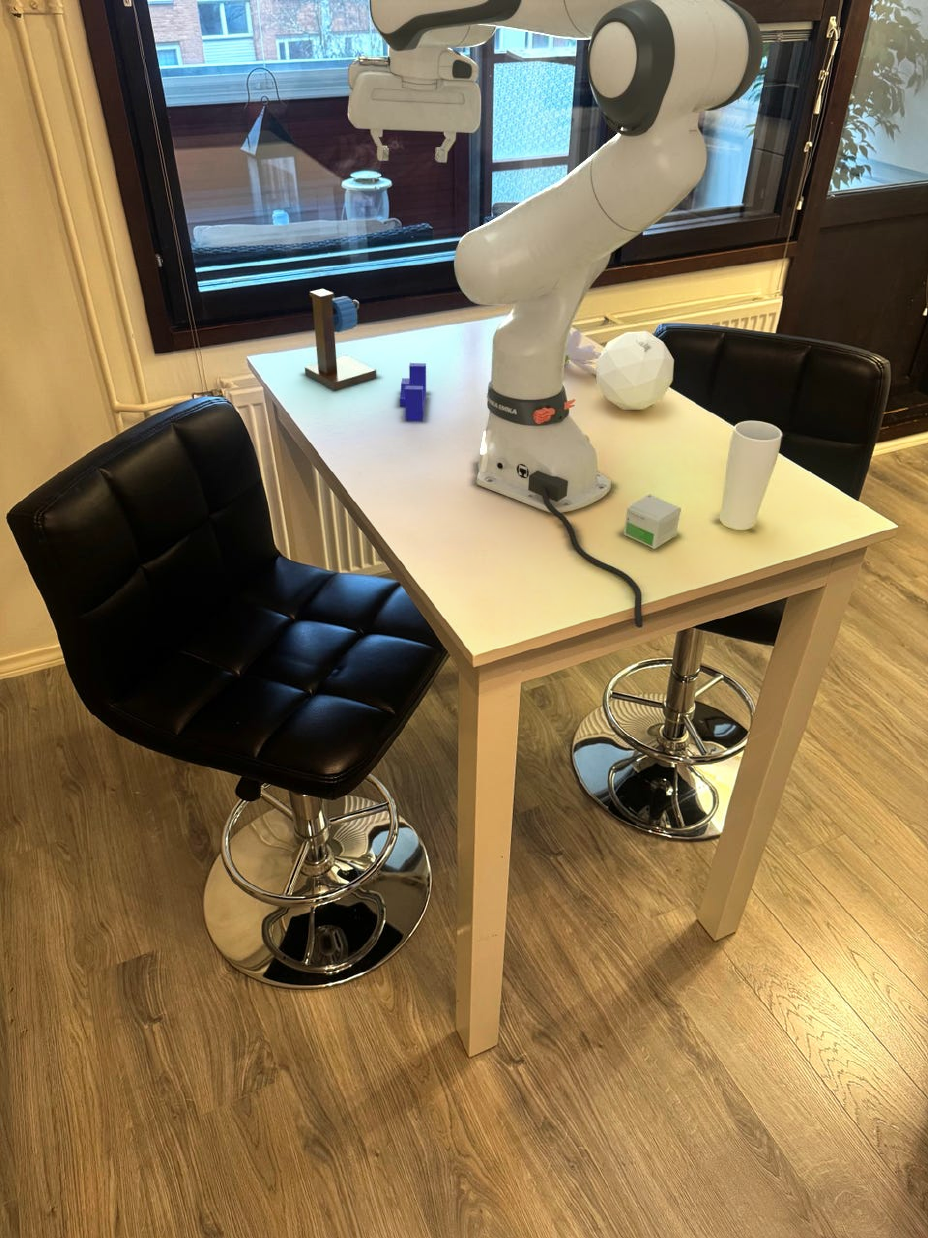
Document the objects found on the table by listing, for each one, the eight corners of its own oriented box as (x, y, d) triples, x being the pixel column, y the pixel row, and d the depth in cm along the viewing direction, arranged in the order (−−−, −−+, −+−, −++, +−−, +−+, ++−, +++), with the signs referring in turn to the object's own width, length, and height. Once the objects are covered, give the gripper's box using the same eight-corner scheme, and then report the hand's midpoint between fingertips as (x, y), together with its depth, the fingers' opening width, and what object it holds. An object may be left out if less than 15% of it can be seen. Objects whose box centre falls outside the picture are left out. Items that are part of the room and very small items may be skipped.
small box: (622, 535, 132) (626, 505, 129) (645, 521, 135) (650, 492, 132) (654, 550, 129) (659, 521, 126) (677, 536, 132) (682, 506, 129)
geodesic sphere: (700, 391, 159) (684, 311, 158) (629, 403, 155) (612, 320, 154) (657, 413, 173) (642, 339, 173) (591, 424, 169) (575, 348, 168)
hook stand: (347, 362, 183) (342, 277, 172) (377, 377, 177) (373, 290, 167) (305, 374, 177) (297, 287, 167) (334, 390, 171) (327, 301, 161)
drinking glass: (726, 506, 139) (746, 415, 130) (767, 521, 136) (791, 429, 127) (705, 523, 135) (725, 431, 126) (747, 539, 131) (770, 445, 122)
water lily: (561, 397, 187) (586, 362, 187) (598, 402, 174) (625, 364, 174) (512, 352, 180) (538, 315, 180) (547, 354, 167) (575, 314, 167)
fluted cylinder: (340, 323, 175) (338, 292, 171) (358, 332, 171) (356, 300, 168) (325, 327, 173) (323, 295, 169) (343, 336, 169) (341, 304, 166)
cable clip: (402, 393, 171) (401, 362, 167) (426, 393, 171) (426, 363, 167) (397, 420, 161) (396, 388, 158) (422, 421, 161) (422, 389, 158)
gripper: (352, 59, 127) (350, 164, 137) (489, 67, 133) (478, 168, 142) (344, 49, 132) (342, 152, 141) (476, 58, 138) (467, 156, 147)
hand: (411, 160), depth 142 cm, fingers open, 8 cm apart
